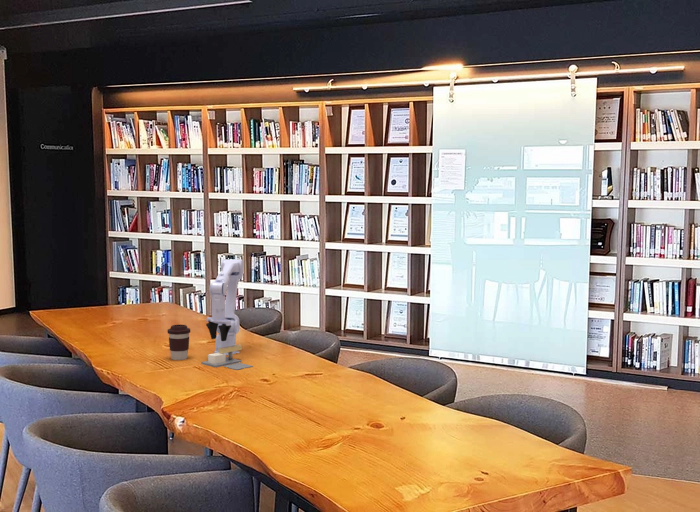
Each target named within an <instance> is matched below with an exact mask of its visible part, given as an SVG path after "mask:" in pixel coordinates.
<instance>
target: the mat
mask: <svg viewBox="0 0 700 512" xmlns="http://www.w3.org/2000/svg"><path fill="white" fill-rule="evenodd" d="M226 367H227V368H226ZM223 368H226V369H231V370H235V371H239V370H243V369H244V368H245V369H248V368H254V365H251V364H247V363H242V362H240V363H235V364H230V365H226V366H223Z"/></svg>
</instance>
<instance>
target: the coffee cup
mask: <svg viewBox="0 0 700 512" xmlns="http://www.w3.org/2000/svg"><path fill="white" fill-rule="evenodd" d="M190 333H191V328H190V327H188V326H187V325H186V324H173V325H171V326H170V327H169V328H168V329H167V334H168V344H169V346H168V347H169V352H170V359H171V360H173V361H183V360H187V359H188V358H189V357H188V356H189V347H190V346H189V345H190Z"/></svg>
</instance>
